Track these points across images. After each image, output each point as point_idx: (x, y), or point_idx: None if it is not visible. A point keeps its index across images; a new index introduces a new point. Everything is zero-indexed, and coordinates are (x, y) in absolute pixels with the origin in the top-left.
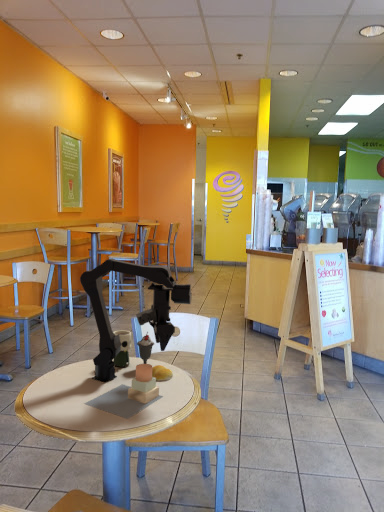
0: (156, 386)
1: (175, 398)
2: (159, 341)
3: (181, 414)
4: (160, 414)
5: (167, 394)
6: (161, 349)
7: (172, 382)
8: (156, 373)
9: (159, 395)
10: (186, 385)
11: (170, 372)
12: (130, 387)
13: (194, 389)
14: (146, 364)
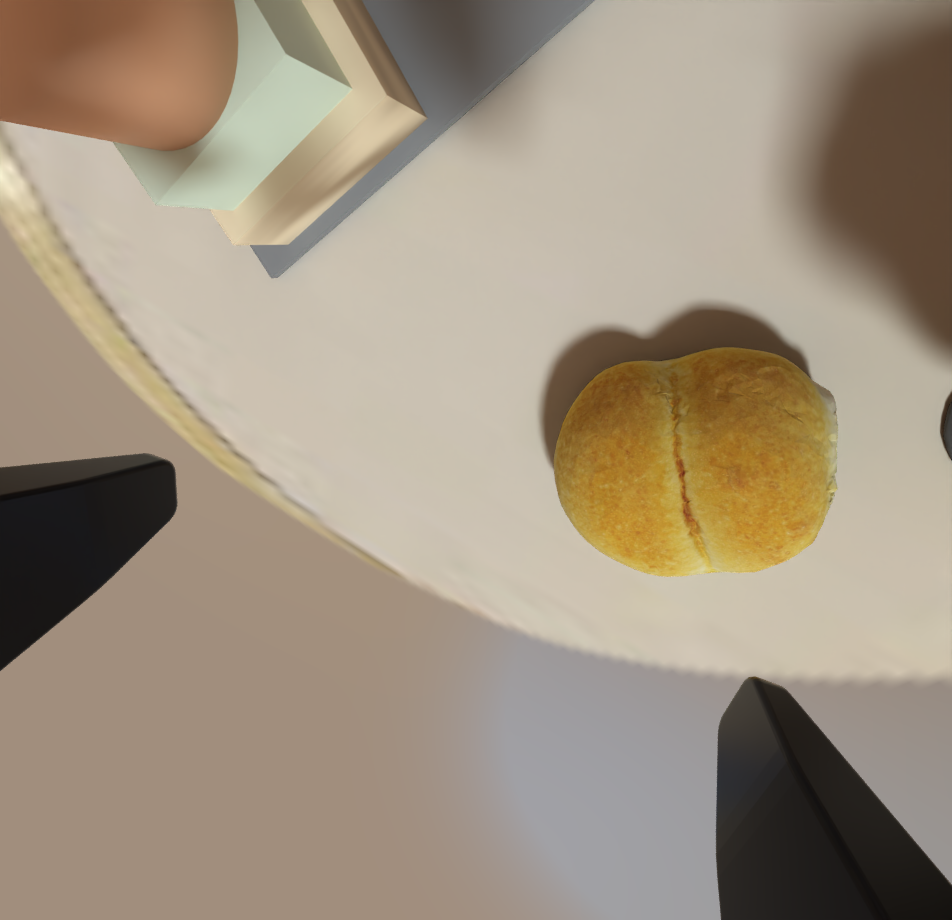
0: (243, 223)
1: (250, 356)
2: (721, 759)
3: (52, 281)
4: (51, 138)
5: (322, 334)
6: (113, 467)
7: (518, 483)
8: (628, 401)
9: (292, 253)
10: (425, 538)
11: (582, 534)
12: (549, 7)
13: (349, 543)
14: (34, 27)
